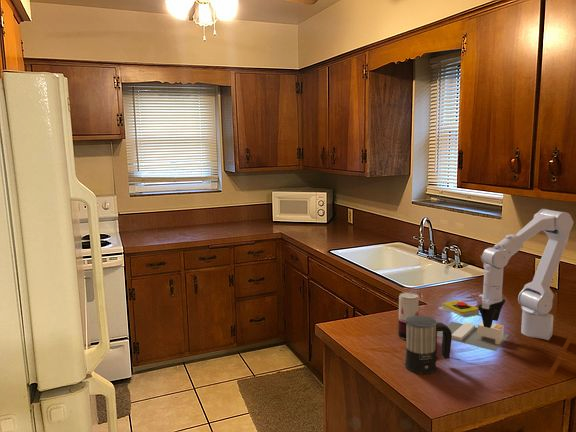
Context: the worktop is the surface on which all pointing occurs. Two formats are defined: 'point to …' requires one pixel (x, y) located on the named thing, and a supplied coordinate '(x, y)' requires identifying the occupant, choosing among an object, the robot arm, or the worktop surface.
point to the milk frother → (425, 343)
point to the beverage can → (406, 310)
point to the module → (491, 332)
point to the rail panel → (471, 336)
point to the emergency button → (460, 308)
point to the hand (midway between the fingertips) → (490, 323)
